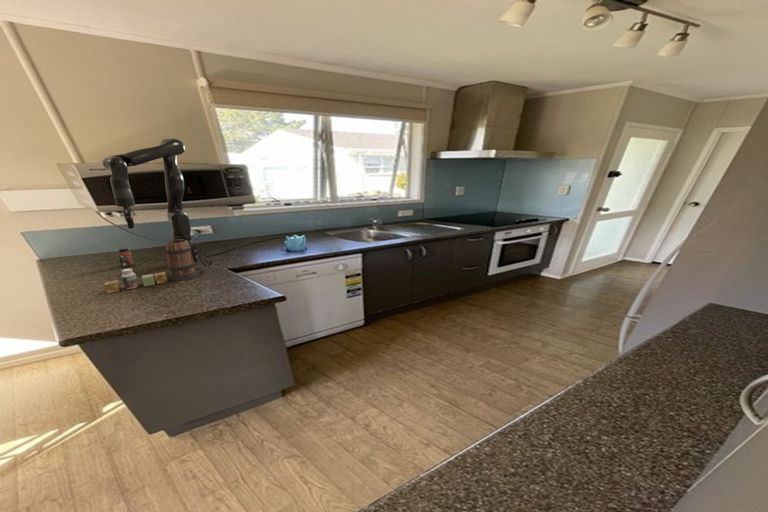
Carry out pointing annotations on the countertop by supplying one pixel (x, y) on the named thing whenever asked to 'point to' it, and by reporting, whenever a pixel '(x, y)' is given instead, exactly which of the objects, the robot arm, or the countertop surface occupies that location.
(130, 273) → the pill bottle
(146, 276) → the sage block
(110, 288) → the birch block
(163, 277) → the maple block
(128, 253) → the supplement bottle
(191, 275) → the tankard
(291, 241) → the teapot
